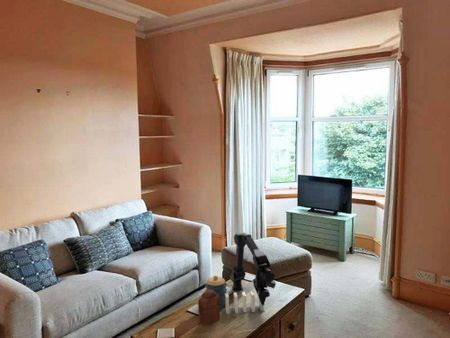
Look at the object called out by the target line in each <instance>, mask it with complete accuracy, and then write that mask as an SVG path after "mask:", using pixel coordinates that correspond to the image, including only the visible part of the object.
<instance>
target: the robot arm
mask: <svg viewBox="0 0 450 338" xmlns="http://www.w3.org/2000/svg"><path fill="white" fill-rule="evenodd" d="M233 240H234V244H235V246H236V248H235V249H236V250H235V265H234V267H233V268H232V271H231V274H229V279H230V281H231V282H232V286H231V288H232V290H233V292H236V291H244V289H243V286H242V285H243V284H242V283H243V282H242V281H244V280H245V278H246V270H245V268H244V256H245V255H244V254H245V253H244V251H245V247H246V246H247V248H248V250H249V251H250V254H251V255H252V260H253V263H254V265H253V266H254V267H255V276H254V279H253V280H252V285H253V287H254V289H255V292H256V294H257V297H258V300H259V299H260V302H261V304H262V306H265V302H266V300H267V298H269V297H270V296H271V295H270V290H269V289H267V288H271V289H275V287H276V284H277V283H276V281H275V274H274V272H272V269H270V268H271V263H270V261H269V258H268V256H267V255H266V253H265V252H264V251H262V250H260V249H259V247H258V245H257V244H256V242H255V241H254V239H253V237H252V234H251V233H246V232H241V233H235V234H234V236H233Z"/></svg>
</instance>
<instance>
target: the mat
mask: <svg viewBox="0 0 450 338" xmlns="http://www.w3.org/2000/svg"><path fill="white" fill-rule="evenodd" d="M221 312H222V316H228V315H230V316H232V315H240V314H241V315H243V314H254V313H255V314H256V313H265V312H266V311H265V309H264V311H261V310H260V308H259V305H255V312H252V310H251V306H246V312H243V308H242V306H241V307H238V313H235V311H234V307H229V314H226V308H221Z"/></svg>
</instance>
